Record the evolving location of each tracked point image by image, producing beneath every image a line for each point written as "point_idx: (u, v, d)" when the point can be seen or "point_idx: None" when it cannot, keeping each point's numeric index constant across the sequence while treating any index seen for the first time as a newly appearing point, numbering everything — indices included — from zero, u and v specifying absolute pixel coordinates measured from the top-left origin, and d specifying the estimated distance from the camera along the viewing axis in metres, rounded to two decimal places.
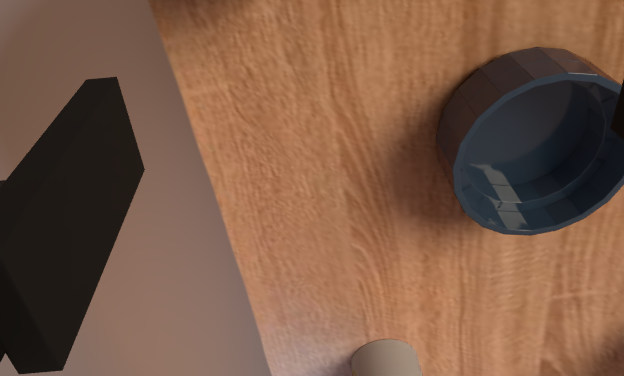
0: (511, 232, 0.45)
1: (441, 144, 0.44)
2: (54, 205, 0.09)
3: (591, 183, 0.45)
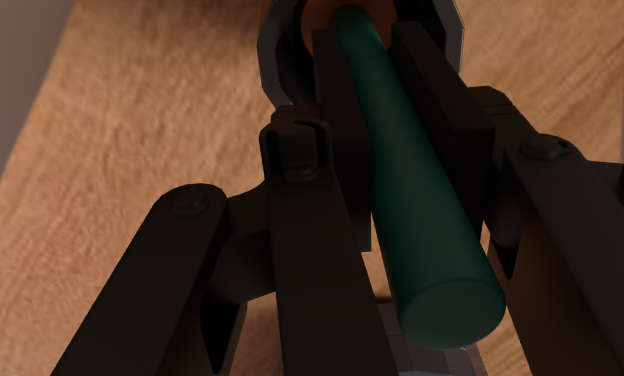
0: None
1: None
2: None
3: None
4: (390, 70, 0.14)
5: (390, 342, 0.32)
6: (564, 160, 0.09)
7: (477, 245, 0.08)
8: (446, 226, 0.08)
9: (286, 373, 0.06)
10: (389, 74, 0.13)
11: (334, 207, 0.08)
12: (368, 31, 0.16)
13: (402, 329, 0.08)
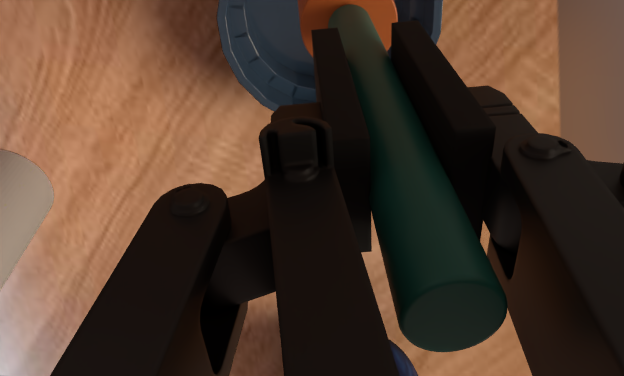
0: (246, 85, 0.37)
1: None
2: None
3: None
4: (390, 71, 0.14)
5: None
6: (564, 160, 0.09)
7: (478, 247, 0.08)
8: (447, 228, 0.08)
9: (286, 373, 0.06)
10: (389, 75, 0.13)
11: (334, 207, 0.08)
12: (368, 32, 0.16)
13: (403, 331, 0.08)
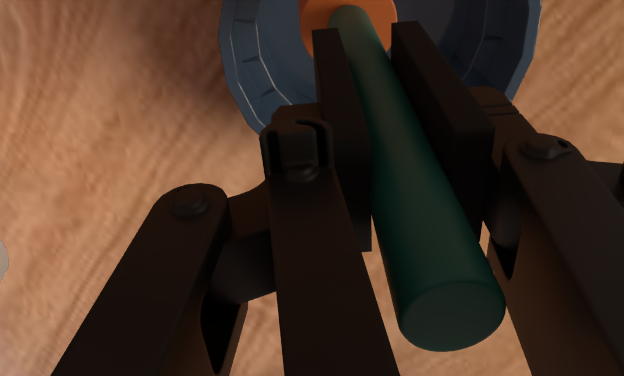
0: (258, 129, 0.26)
1: None
2: None
3: None
4: (390, 71, 0.14)
5: None
6: (564, 160, 0.08)
7: (477, 247, 0.08)
8: (447, 228, 0.08)
9: (286, 373, 0.06)
10: (389, 75, 0.13)
11: (334, 207, 0.08)
12: (368, 32, 0.16)
13: (402, 331, 0.08)
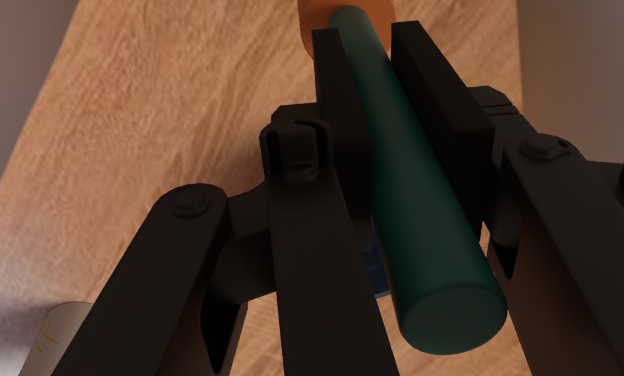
0: None
1: None
2: None
3: None
4: (390, 73, 0.14)
5: None
6: (564, 160, 0.09)
7: (478, 250, 0.08)
8: (447, 231, 0.08)
9: (287, 373, 0.06)
10: (389, 77, 0.13)
11: (334, 207, 0.08)
12: (368, 33, 0.16)
13: (403, 334, 0.08)
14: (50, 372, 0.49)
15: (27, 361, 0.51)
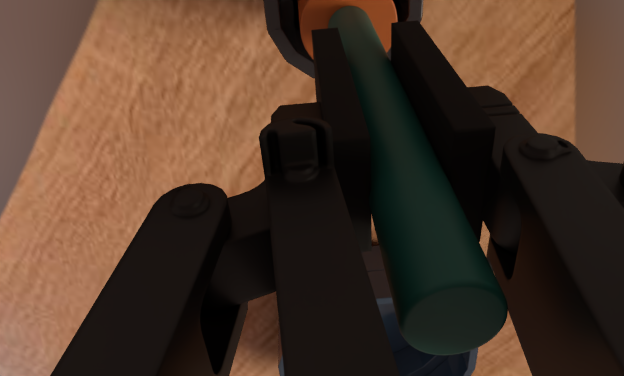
0: None
1: None
2: None
3: None
4: (390, 73, 0.14)
5: (377, 275, 0.36)
6: (564, 160, 0.09)
7: (478, 250, 0.08)
8: (447, 231, 0.08)
9: (286, 373, 0.06)
10: (389, 77, 0.13)
11: (334, 207, 0.08)
12: (368, 33, 0.16)
13: (403, 335, 0.08)
14: None
15: None
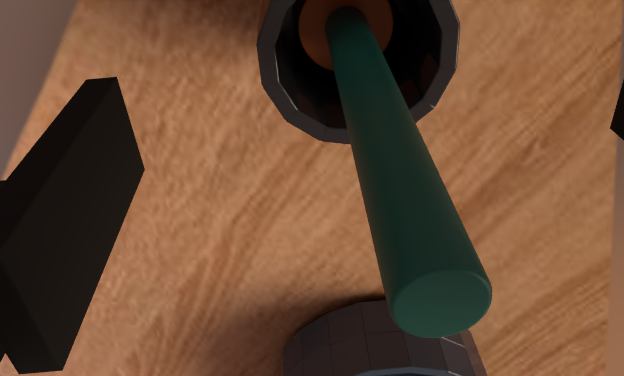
0: None
1: (304, 347, 0.34)
2: (54, 205, 0.09)
3: None
4: (385, 71, 0.14)
5: (389, 338, 0.32)
6: None
7: (465, 238, 0.08)
8: (435, 220, 0.08)
9: None
10: (384, 75, 0.14)
11: None
12: (364, 33, 0.16)
13: (393, 318, 0.08)
14: None
15: None
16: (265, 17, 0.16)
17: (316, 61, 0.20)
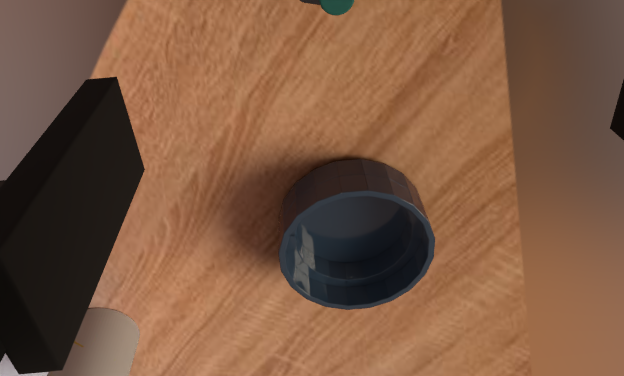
0: (296, 288, 0.52)
1: (297, 191, 0.49)
2: (54, 205, 0.09)
3: (366, 288, 0.55)
4: None
5: (355, 178, 0.47)
6: None
7: None
8: None
9: None
10: None
11: None
12: None
13: (320, 4, 0.23)
14: (77, 373, 0.53)
15: None
16: None
17: None
